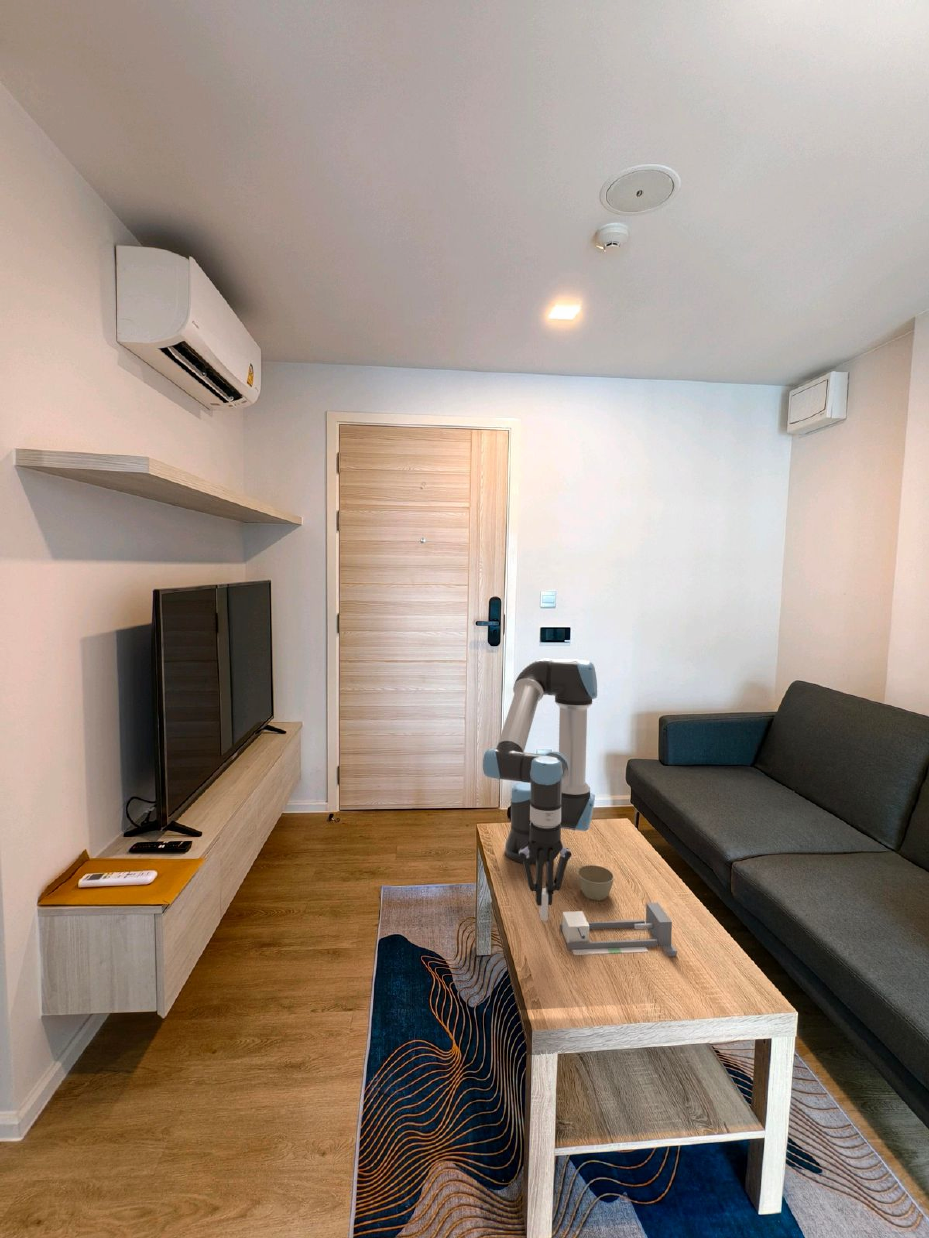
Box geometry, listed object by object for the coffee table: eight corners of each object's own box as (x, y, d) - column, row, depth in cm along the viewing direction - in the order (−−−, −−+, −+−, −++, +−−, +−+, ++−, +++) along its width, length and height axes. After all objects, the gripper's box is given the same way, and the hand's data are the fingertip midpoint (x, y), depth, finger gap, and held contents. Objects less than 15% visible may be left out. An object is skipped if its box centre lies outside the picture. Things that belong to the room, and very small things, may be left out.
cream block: (562, 930, 138) (562, 911, 137) (581, 930, 138) (582, 911, 138) (572, 956, 128) (573, 935, 128) (593, 955, 129) (593, 935, 128)
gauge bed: (549, 928, 140) (550, 901, 140) (655, 924, 143) (656, 898, 142) (561, 960, 129) (561, 931, 128) (676, 955, 131) (677, 926, 130)
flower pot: (614, 910, 149) (615, 885, 148) (577, 905, 151) (577, 880, 150) (612, 890, 158) (612, 866, 158) (577, 886, 160) (577, 862, 160)
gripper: (521, 829, 128) (519, 927, 129) (576, 828, 129) (573, 925, 130) (516, 816, 136) (514, 909, 137) (567, 815, 137) (565, 907, 138)
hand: (543, 917), depth 133 cm, fingers closed
